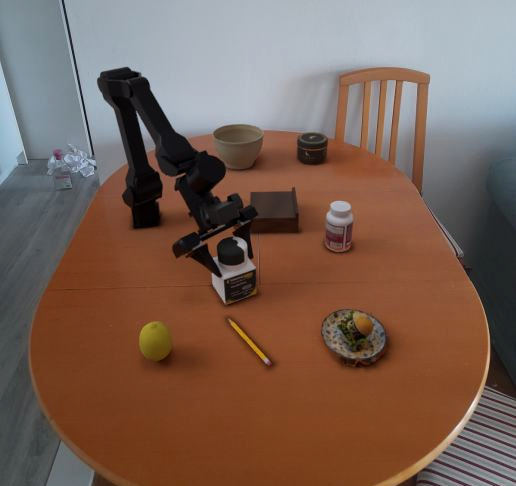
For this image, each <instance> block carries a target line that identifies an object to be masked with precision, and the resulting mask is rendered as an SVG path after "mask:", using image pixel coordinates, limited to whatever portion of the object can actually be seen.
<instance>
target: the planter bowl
mask: <svg viewBox="0 0 516 486" xmlns="http://www.w3.org/2000/svg"><path fill="white" fill-rule="evenodd" d="M264 134H265V133H264V130H263V129H262V128H260V127H259V126H256V125H253V124H247V123H233V124H226V125H222V126H219V127H217V128H216V129H214V130H213V131H212V139H213V144H214V149H215V151H216V153H217V155H218V156H219V159H220V160H221V161H223V163H224V165H225V167H226V168H228V169H231V170H246V169H250V168H251V167H252V166H253V165H254V163H255V161H256V159H257V158H258V156H259V155H260V152H261V151H262V147H263V143H264V136H265V135H264Z"/></svg>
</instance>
